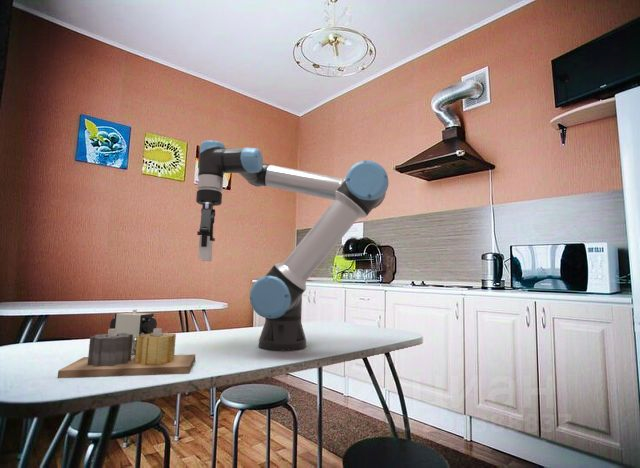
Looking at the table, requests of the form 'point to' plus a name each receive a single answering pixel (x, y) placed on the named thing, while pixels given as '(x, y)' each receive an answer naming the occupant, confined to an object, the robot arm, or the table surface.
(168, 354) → the brass gear
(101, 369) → the gear board
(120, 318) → the pneumatic valve
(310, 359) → the table surface
